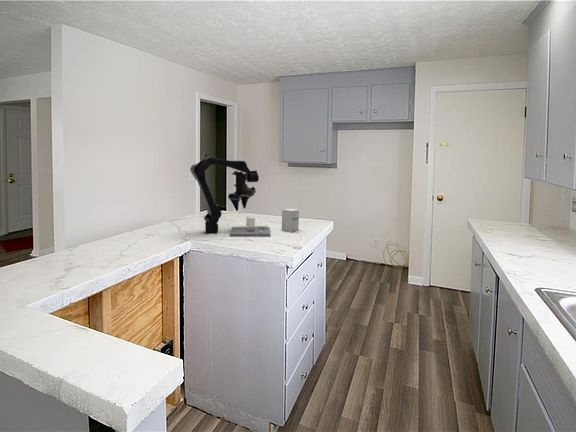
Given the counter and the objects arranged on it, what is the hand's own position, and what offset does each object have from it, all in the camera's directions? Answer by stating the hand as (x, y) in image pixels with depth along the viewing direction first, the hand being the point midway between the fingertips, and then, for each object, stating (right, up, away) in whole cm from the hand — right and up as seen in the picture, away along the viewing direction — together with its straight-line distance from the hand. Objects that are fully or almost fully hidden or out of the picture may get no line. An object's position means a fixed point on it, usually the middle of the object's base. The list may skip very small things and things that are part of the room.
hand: (240, 209), depth 215 cm
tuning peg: (+10, -12, -5) cm, 16 cm away
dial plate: (+6, -14, -6) cm, 16 cm away
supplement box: (+29, -13, +2) cm, 32 cm away
